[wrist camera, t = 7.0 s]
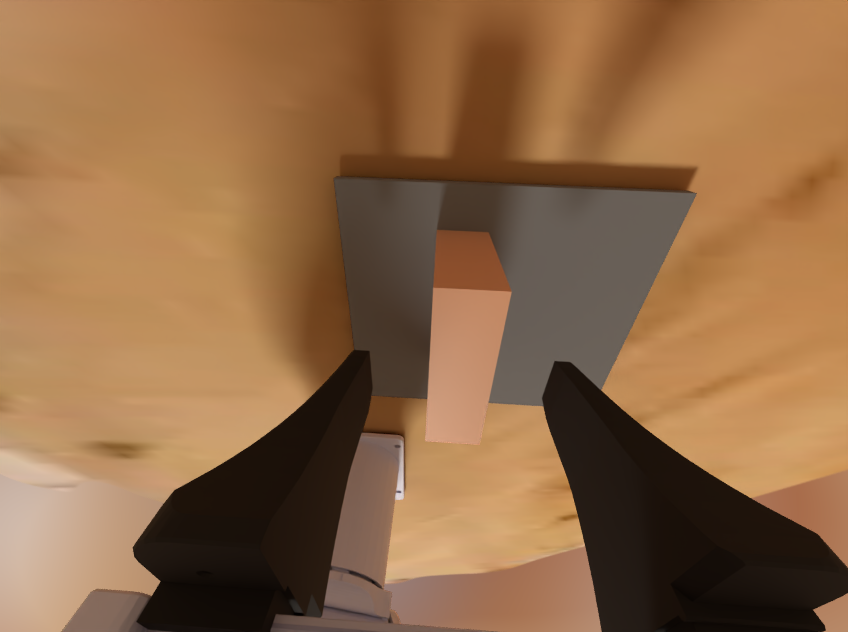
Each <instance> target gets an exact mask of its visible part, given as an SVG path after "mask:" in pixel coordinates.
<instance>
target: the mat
mask: <svg viewBox="0 0 848 632" xmlns="http://www.w3.org/2000/svg"><path fill="white" fill-rule="evenodd" d="M334 185H335V194H336V202H337V210H338V218H339V227H340V235H341V243H342V251H343V260H344V268H345V276H346V285H347V293H348V301H349V309H350V318H351V326H352V334H353V342H354V350H365V351H370V361H371V373H372V385H373V390H372V395H371V396H386V397H402V398H418V399H427V398H428V379H429V360H430V341H431V321H432V302H433V284H434V267H435V250H436V234H437V230H451V231H473V232H489V235H490V237H491V240H492V242H493V245H494V247H495V250H496V252H497V255H498V258H499V260H500V263H501V265H502V268H503V270H504V273H505V276H506V278H507V281H508V283H509V286H510V288H511V291H512V293H511V298H510V302H509V307H508V312H507V317H506V321H505V326H504V331H503V336H502V340H501V345H500V350H499V355H498V359H497V364H496V369H495V374H494V378H493V383H492V388H491V393H490V397H489V402H488V403H499V404H516V405H532V406H543V401H542V396H543V393H544V390H545V387H546V384H547V381H548V378H549V375H550V373H551V370H552V367H553V364H554V361H564V362H571V363H572V364H573V365H575V366H576V367H577V368H578V369H579V370H580V371H581V372H582V373H583V374H584V375H585V376H586V377H587V378H588V379H590V380H591V381H592V382H593V383H594V384H595V385H596V386H597V387H598V388H599V389H600V390H601V389H602V387H603V385H604V383H605V381H606V379H607V377H608V375H609V373H610V371H611V369H612V366H613V364H614V362H615V360H616V358H617V356H618V354H619V352H620V350H621V348H622V346H623V344H624V342H625V340H626V338H627V336H628V334H629V332H630V330H631V328H632V325H633V323H634V321H635V319H636V317H637V315H638V313H639V311H640V309H641V307H642V305H643V303H644V301H645V299H646V297H647V295H648V293H649V291H650V289H651V287H652V285H653V282H654V280H655V278H656V276H657V274H658V272H659V270H660V268H661V266H662V264H663V262H664V260H665V258H666V256H667V254H668V252H669V250H670V248H671V246H672V244H673V241H674V239H675V237H676V235H677V233H678V231H679V229H680V227H681V225H682V223H683V221H684V219H685V217H686V215H687V213H688V211H689V209H690V207H691V205H692V203H693V200H694V198H695V196H696V194H697V193H694V192H690V191H683V190H659V189H635V188H611V187H586V186H562V185H538V184H514V183H489V182H465V181H441V180H417V179H393V178H368V177H344V176H337V177H335V178H334Z"/></svg>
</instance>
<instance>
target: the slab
mask: <svg viewBox="0 0 848 632" xmlns="http://www.w3.org/2000/svg"><path fill="white" fill-rule="evenodd" d="M511 293H512V291H511V288H510V286H509V283H508V281H507V278H506V276H505V273H504V270H503V268H502V265H501V263H500V260H499V258H498V255H497V252H496V250H495V247H494V245H493V242H492V240H491V237H490V235H489V232H473V231H451V230H437V234H436V250H435V267H434V284H433V302H432V321H431V341H430V360H429V379H428V398H427V418H426V437H425V441H430V442H445V443H461V444H476V445H480V440H481V435H482V430H483V426H484V421H485V416H486V412H487V407H488V402H489V397H490V393H491V388H492V383H493V378H494V374H495V369H496V364H497V359H498V355H499V350H500V345H501V340H502V336H503V331H504V326H505V321H506V317H507V312H508V307H509V302H510V298H511Z"/></svg>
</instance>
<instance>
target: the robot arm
mask: <svg viewBox="0 0 848 632" xmlns="http://www.w3.org/2000/svg"><path fill="white" fill-rule="evenodd" d="M372 390H373V385H372V373H371V361H370V351H365V350H354V351H352V352H351V354H350V355H349V356H348V357H347V358H346V360H345V361H344V362H343V363H342V364H341V365H340V367H339V368H338V369H337V370H336V371H335V372H334V373H333V374H332V376H331V377H330V378H329V379H328V380H327V381H326V382H325V383H324V384H323V385H322V386H321V387H320V388H319V389H318V390H317V391H316V392H315V393H314V394H313V395H312V396H311V397H310V398H309V399H308V400H307V401H306V402H305V403H304V404H303V405H302V406H301V407H299V408H298V409H297V410H296V411H295V412H294V413H293V414H291V415H290V416H289V417H288V418H287V419H285V420H284V421H283V422H282V423H281V424H279V425H278V426H277V427H275V428H274V429H273V430H271V431H270V432H269V433H267V434H266V435H265V436H263V437H262V438H261V439H259V440H258V441H256V442H255V443H254V444H252V445H251V446H249V447H248V448H246V449H245V450H243V451H241V452H240V453H238V454H237V455H235V456H234V457H232V458H230V459H229V460H227V461H226V462H224V463H222V464H221V465H219V466H217V467H216V468H214V469H212V470H210V471H209V472H207V473H205V474H203V475H201V476H200V477H198V478H196V479H194V480H192V481H191V482H189V483H187V484H185V485H183V486H181V487H180V488H178V489H176V490H174V492H173V493H172V494H171V495H170V496H169V498H168V499H167V500H166V501H165V503H164V504H163V506H162V507H161V508H160V509H159V511H158V512H157V514H156V515H155V517H154V518H153V519H152V521H151V522H150V524H149V525H148V526H147V528H146V529H145V531H144V532H143V534H142V535H141V536H140V538H139V539H138V540H137V542H136V543H135V545H134V546H133V552H134V557H135V558H136V559H137V561H138V562H139V563H141V565H143V566H144V567H145V568H146V569H147V570H148V571H150V572H151V573H152V574H153V575H154V576H155V577H156V578H158V579H159V580H160V581H161V582H160V584H159V585H158V587H157V589H156V590H155V592H154V593H153V595H152V596H150V595H147V594H144V593H140V592H132V591H120V590H119V591H118V590H107V589H96V590H93V591H92V592H90V594H89V595H88V597H87V598H86V599H85V601H84V602H83V603H82V605H81V606H80V607H79V609H78V610H77V611H76V613H75V614H74V615H73V617H72V618H71V620H70V621H69V622H68V624H67V625H66V626H65V627H64V629H63V630H62V631H61V632H494V631H482V630H469V629H456V628H444V627H432V626H419V625H407V624H401V622H400V619H399V616H398V614H397V613H396V612H395V611H394V610H391V609H390V608H391V598H392V592H390V591H386V590H384V583H385V575H386V567H387V559H388V552H389V544H390V536H391V528H392V520H393V512H394V504H395V500H402V499H403V498H404V438H403V437H402V436H400V435H391V434H376V433H362V431H363V428H364V424H365V421H366V418H367V415H368V411H369V406H370V401H371V395H372ZM542 401H543V406H544V411H545V415H546V420H547V423H548V426H549V429H550V432H551V435H552V438H553V440H554V443H555V446H556V449H557V451H558V454H559V457H560V459H561V462H562V465H563V468H564V470H565V473H566V476H567V478H568V481H569V485H570V488H571V491H572V494H573V498H574V502H575V506H576V510H577V514H578V517H579V522H580V526H581V530H582V534H583V539H584V543H585V547H586V551H587V556H588V561H589V566H590V570H591V575H592V580H593V585H594V591H595V595H596V602H597V607H598V613H599V618H600V624H601V630H602V632H823V631H825V630H826V629H825V625H824V624H823V623H822V622H821V620H820V619H819V617H818V616H817V615H816V613H815V612H814V611H813V609H815V608H818V607H820V606H822V605H824V604H826V603H828V602H831V601H833V600H835V599H837V598H839V597H841V596H843V595H845V594H847V593H848V568H847V566H846V565H845V564H844V563H843V562H842V561H841V560H840V559H839V557H838V556H837V555H836V554H835V553H834V552H833V551H832V550H831V549H830V547H829V546H828V545H827V544H826V543H825V542H824V541H823V540H822V539H821V538H820V536H819V535H818V534H816V533H815V532H813V531H811V530H809V529H807V528H805V527H803V526H801V525H799V524H797V523H796V522H794V521H792V520H790V519H788V518H786V517H784V516H782V515H780V514H778V513H777V512H775V511H773V510H771V509H769V508H767V507H765V506H763V505H762V504H760V503H758V502H756V501H755V500H753V499H751V498H749V497H748V496H746V495H744V494H743V493H741V492H739V491H737V490H736V489H734V488H732V487H730V486H729V485H727V484H726V483H724V482H722V481H721V480H719V479H717V478H716V477H714V476H712V475H711V474H709V473H708V472H706V471H705V470H703V469H702V468H700V467H699V466H697V465H696V464H694V463H692V462H691V461H689V460H688V459H686V458H685V457H683V456H682V455H681V454H679V453H678V452H676V451H675V450H673V449H672V448H671V447H669V446H668V445H667V444H665V443H664V442H662V441H661V440H660V439H658V438H657V437H656V436H654V435H653V434H652V433H650V432H649V431H648V430H646V429H645V428H644V427H643V426H641V425H640V424H639V423H638V422H637V421H635V420H634V419H633V418H632V417H631V416H629V415H628V414H627V413H626V412H625V411H623V410H622V409H621V408H620V407H619V406H618V405H617V404H615V403H614V402H613V401H612V400H611V399H610V398H609V397H608V396H607V395H606V394H604V393H603V392H602V391H601V390H600V389H599V388H598V387H597V386H596V385H595V384H594V383H593V382H592V381H591V380H590V379H588V378H587V377H586V376H585V375H584V374H583V373H582V372H581V371H580V370H579V369H578V368H577V367H576V366H575V365H573V364H572V363H571V362H564V361H554V364H553V367H552V370H551V373H550V375H549V378H548V381H547V384H546V387H545V390H544V393H543V396H542Z"/></svg>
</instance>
